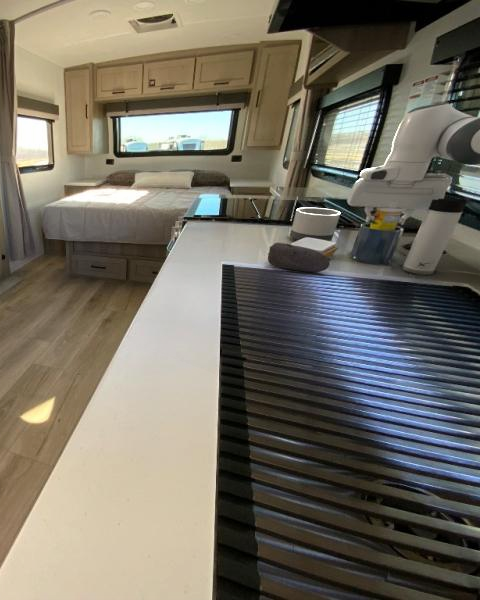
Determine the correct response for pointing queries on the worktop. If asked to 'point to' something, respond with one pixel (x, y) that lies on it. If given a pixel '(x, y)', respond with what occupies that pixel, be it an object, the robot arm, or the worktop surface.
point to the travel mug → (434, 235)
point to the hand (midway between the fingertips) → (383, 223)
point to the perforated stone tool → (297, 258)
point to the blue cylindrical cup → (375, 245)
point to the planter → (314, 223)
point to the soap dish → (318, 245)
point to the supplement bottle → (386, 217)
